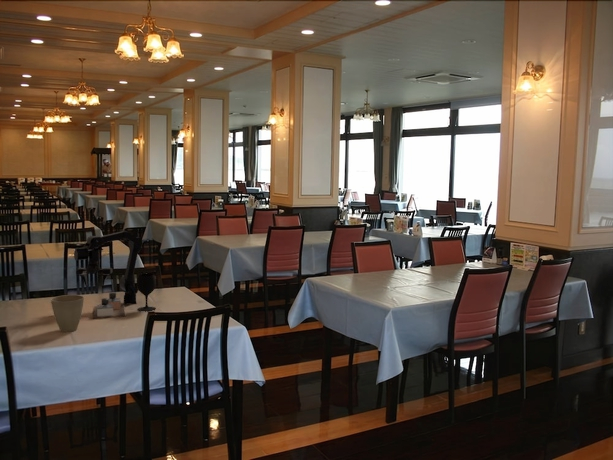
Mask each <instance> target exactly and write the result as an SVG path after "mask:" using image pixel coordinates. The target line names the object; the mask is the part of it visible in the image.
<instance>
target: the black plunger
mask: <svg viewBox="0 0 613 460" xmlns="http://www.w3.org/2000/svg"><path fill="white" fill-rule="evenodd" d="M108 304H109V298H108V297H106V298H104V297H103V298H101V305H104V307H106V305H108Z"/></svg>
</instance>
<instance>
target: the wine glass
mask: <svg viewBox="0 0 613 460" xmlns="http://www.w3.org/2000/svg"><path fill="white" fill-rule="evenodd" d="M155 276H156V275H155V274H154V273H149V272H148V273H144V272H143V273H140V274H138V275H137V277H136V289H138V292H139V293H141V294H142V295H144V297H145V306H141V307H138V308H137V309H136V311H138V312H141V311H145V313H147V312H153V311H152V310H154V311H156V310H157V307H155V306H149V304H148V297H149V295H150V294H151V293H153V292H154V290H156V289H155V288H156V285H157V284H156V283H157V282H156V281H157V280H156V277H155ZM155 309H156V310H155ZM146 311H147V312H146Z"/></svg>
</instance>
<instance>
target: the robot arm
mask: <svg viewBox="0 0 613 460" xmlns="http://www.w3.org/2000/svg"><path fill="white" fill-rule="evenodd" d="M86 239H87V240H86V242H85V244H84V245H83V246H82V247H76V248H74V249H75V250H74V253H73V258H74V260H75V261H82V260H83V261H84V260H87V259H88V261H87V265H86V267H78V268H77V269H76V270H75V275H78V276H79V277H81V278H82V281H83V283H84V285H85V287H88V276H87V275H90V274H92V275H95V274H96V273H102V287H104V286H105V284H106V280H107V278H108V276H110V275H111V274H113V268H112V267H105V268H101V266H100V265H101V263H100V262H101V259H100V251H103V250H104V249H103V248H102V247H101V246H103V245H104V244H105V243H110V242H113V241H118V240H122V239H124V240H125V241H126V242H128V249H129V254H128V259H127V263H126V267H125V273H124V275H123V277H121V276H120V280H119V283H118V284H119V287H120V289H121V290H122V291H123V293H124V294H123V303H124V305H131V304H132V305H133V304H137V294H138V292H139V290H138V288H137V287H135V278H134V275H135V274H134V273H135V269H136V264H137V258H138V254H139V252H140V250H141V249H142V246H143V243H144V242H143V241H144V240H143V239H142V238H141V237H137V236H135V235H133V234H132V233H130V232H129V231H127V230H121V231H118V232H113V233H110V234H109V233H108V234H104V235H92V236H89V237H87V238H86Z"/></svg>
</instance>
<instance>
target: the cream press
mask: <svg viewBox="0 0 613 460" xmlns="http://www.w3.org/2000/svg"><path fill="white" fill-rule="evenodd" d="M96 306H97V317H98V316H112V315H113V304H108V305H106V307H104V305H102V304H97V305H96Z"/></svg>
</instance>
